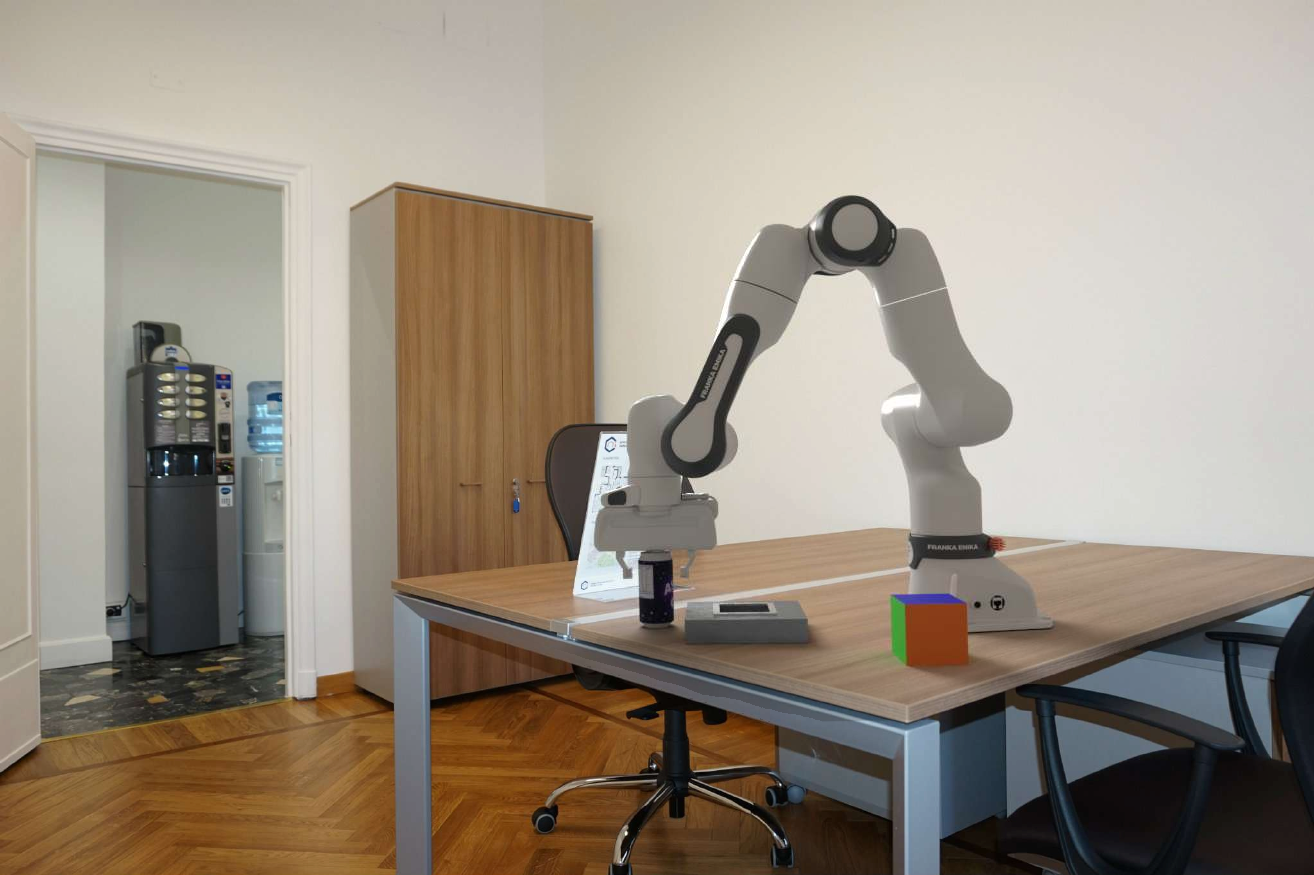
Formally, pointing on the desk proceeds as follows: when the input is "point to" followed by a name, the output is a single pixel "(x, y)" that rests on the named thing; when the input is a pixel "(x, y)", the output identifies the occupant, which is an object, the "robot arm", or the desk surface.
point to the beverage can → (656, 589)
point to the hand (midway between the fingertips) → (656, 578)
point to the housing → (745, 622)
